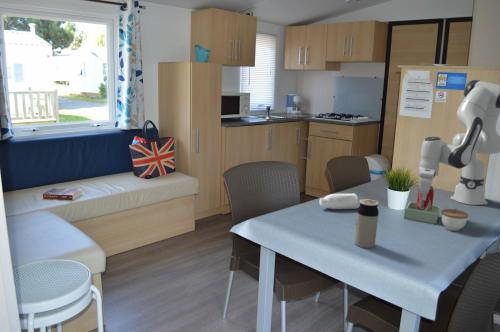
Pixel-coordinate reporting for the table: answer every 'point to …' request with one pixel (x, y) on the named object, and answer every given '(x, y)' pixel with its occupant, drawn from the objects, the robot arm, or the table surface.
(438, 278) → the table surface
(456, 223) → the lidded jar
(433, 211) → the serving tub
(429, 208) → the soda can
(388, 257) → the table surface
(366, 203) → the travel mug
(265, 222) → the table surface
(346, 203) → the white bottle
